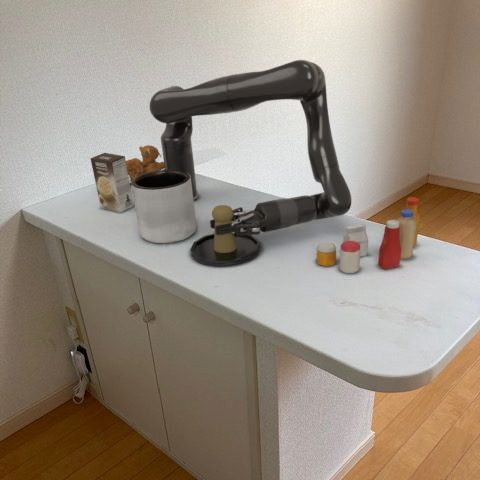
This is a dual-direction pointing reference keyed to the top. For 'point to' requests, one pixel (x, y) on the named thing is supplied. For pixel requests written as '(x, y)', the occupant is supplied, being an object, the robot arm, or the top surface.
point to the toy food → (392, 247)
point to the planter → (164, 206)
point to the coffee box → (112, 182)
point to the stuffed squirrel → (144, 162)
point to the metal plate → (208, 256)
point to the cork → (227, 240)
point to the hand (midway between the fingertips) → (213, 227)
